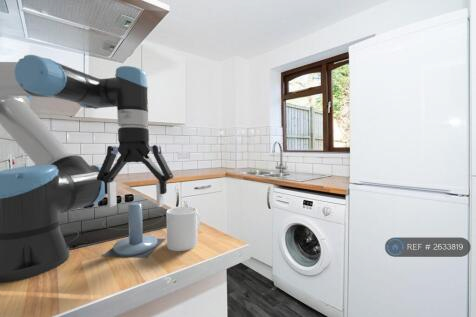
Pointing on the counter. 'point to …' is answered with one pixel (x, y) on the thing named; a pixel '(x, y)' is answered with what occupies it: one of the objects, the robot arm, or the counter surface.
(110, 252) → the mat
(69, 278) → the counter surface
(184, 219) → the mug
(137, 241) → the lid
